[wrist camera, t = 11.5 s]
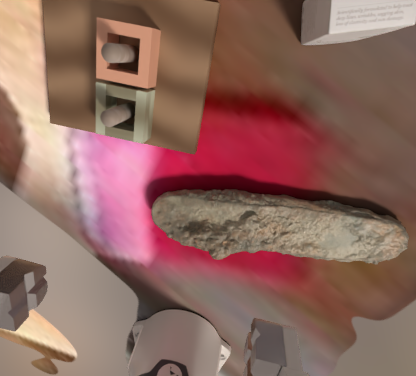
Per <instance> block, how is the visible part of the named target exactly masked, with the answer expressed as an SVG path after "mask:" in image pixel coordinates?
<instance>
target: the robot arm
mask: <svg viewBox="0 0 416 376" xmlns="http://www.w3.org/2000/svg"><path fill="white" fill-rule="evenodd" d="M45 274H46V267H45V266H43V265H40V264H36V263H33V262H29V261H26V260H22V259H18V258H14V257H10V256H4V257H1V258H0V328H2V329H7V330H11V331H16V330H17V329H18V328H19V327H20V326H21V324H22V323H23V322H24V321H25V320H26V319H27V318H28V317H29V310H31V309H33V308H35V307H37V306H38V305H39V304H40V303H41V301H42V300H43V298H44V296H45V294H46V292H47V281H46V280H45V279H44V277H43V276H44V275H45ZM132 331H133V336H134V342H135V346H134V349H133V352H132V354H131V357H130V360H129V363H128V366H127V369H128V370H129V376H218V372H219V370H220V369H221V367H222V366H223V364H224V363H225V361H226V360H227V358H228V357H229V355H230V352H231V347H230V346H229V345H228V344H227V343H226V342H225V341H223V340H222V339H221V338H220V337H219V335H218V333H217V331H216V330H215V328H214V327H213V326H212V325H211V324H210V323H209V322H208V321H207V320H205V319H204V318H202V317H200V316H199V315H196V314H194V313H191V312H188V311H184V310H164V311H160V312H158V313H156V314H154V315H153V316H151V317H150V318H148V319H146V320H142V321H137V322H135V323H134V325H133V328H132ZM244 362H245V364H246V367H245V369H244V372H243V376H309V374H308V373H306V372H303V367H302V361H301V355H300V349H299V342H298V336H297V330H296V329H295V328H294V327H290V326H286V325H282V324H278V323H274V322H270V321H265V320H261V319H257V318H254V319H253V321H252V324H251V332H249V333H248V336H247V339H246V343H245V349H244Z"/></svg>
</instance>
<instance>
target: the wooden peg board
mask: <svg viewBox="0 0 416 376" xmlns="http://www.w3.org/2000/svg"><path fill="white" fill-rule="evenodd" d="M220 6H221V5H220V4H219V3H217V2H211V1H206V0H43V15H44V31H45V47H46V63H47V78H48V94H49V110H50V123H52V124H57V125H62V126H66V127H71V128H75V129H80V130H85V131H89V132H94V133H96V134H101V135H106V136H110V137H115V138H119V139H124V140H128V141H133V142H138V143H142V144H143V143H144V144H149V145H153V146H158V147H163V148H167V149H172V150H176V151H181V152H186V153H190V154H195V153H196V151H197V145H198V139H199V133H200V127H201V121H202V115H203V109H204V103H205V97H206V91H207V85H208V78H209V72H210V66H211V60H212V54H213V48H214V42H215V36H216V30H217V24H218V18H219V12H220ZM97 17H98V18H103V19H109V20H114V21H119V22H124V23H129V24H134V25H140V26H145V27H150V28H154V29H157V30H161V36H160V47H159V57H158V68H157V79H156V86H155V87H152V88H148V89H147V88H142V87H137V86H132V85H127V84H123V83H118V82H113V81H108V80H103V79H98V78H96V39H97ZM139 50H140V39H139V38H134V37H129V36H124V35H119V44H117V43H105V44H104V45H103V46H102V49H101V54H102V57H103V59H104V60H105V61H107V62H109V63H118V68H121V69H126V70H131V71H136V72H138V65H139Z"/></svg>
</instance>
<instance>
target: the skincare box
mask: <svg viewBox="0 0 416 376" xmlns="http://www.w3.org/2000/svg"><path fill="white" fill-rule="evenodd" d="M415 22H416V0H305V1H304V2H303V6H302V27H301V44H302V45H321V44H333V43H342V42H350V41H357V40H360V39H364V38H368V37H372V36H376V35H380V34H383V33H387V32H391V31H394V30H398V29H401V28H404V27H408V26H412V25H414V24H415Z"/></svg>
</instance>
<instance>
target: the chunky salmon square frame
mask: <svg viewBox="0 0 416 376" xmlns="http://www.w3.org/2000/svg"><path fill="white" fill-rule="evenodd" d="M119 35H124V36H129V37H134V38H139V39H140V50H139V65H138V72H136V71H131V70H126V69H121V68H118V63H109V62H107V61H105V60H104V59H103V57H102V54H101V49H102V46H103V45H104V44H105V43H117V44H119ZM160 36H161V30H157V29H154V28H150V27H145V26H140V25H134V24H129V23H124V22H119V21H114V20H109V19H103V18H98V17H97V39H96V78H98V79H103V80H108V81H113V82H118V83H123V84H127V85H132V86H137V87H142V88H147V89H148V88H152V87H155V86H156V79H157V68H158V57H159V47H160Z"/></svg>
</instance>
